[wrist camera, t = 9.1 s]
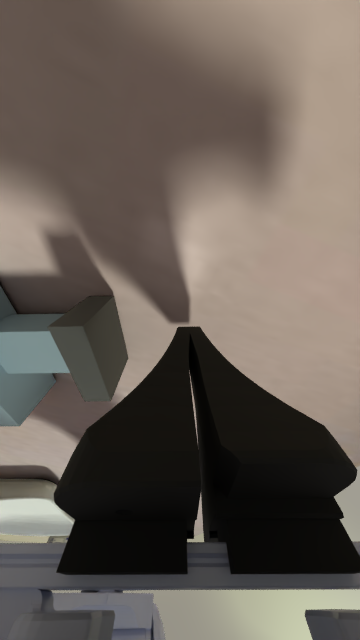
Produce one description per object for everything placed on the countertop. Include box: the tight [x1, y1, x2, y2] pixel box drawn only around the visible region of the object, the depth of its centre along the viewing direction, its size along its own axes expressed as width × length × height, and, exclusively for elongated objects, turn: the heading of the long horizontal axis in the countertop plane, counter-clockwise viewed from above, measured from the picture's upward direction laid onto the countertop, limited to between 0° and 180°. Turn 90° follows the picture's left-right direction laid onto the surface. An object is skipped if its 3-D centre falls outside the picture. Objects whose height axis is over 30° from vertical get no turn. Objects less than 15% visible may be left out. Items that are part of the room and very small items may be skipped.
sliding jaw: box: [0, 286, 128, 426], centre depth 9 cm, size 10×10×4 cm
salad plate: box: [0, 479, 75, 536], centre depth 27 cm, size 21×21×3 cm
